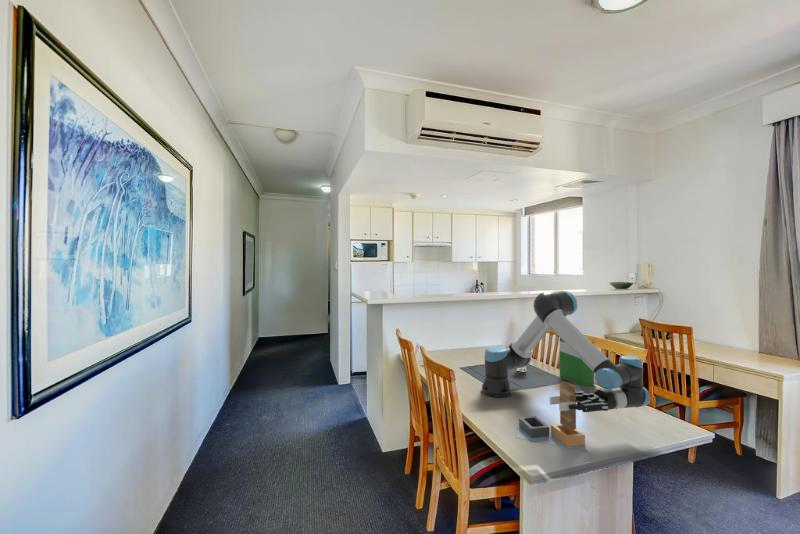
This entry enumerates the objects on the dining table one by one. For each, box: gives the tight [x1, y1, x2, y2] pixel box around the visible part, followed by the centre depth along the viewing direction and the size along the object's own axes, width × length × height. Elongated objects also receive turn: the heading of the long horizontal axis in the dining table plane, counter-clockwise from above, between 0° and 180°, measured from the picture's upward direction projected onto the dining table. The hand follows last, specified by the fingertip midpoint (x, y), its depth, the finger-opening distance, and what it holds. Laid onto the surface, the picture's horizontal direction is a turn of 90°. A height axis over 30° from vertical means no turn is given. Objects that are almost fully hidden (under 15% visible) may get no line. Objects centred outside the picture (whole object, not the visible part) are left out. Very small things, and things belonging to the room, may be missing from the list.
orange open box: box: [550, 423, 586, 446], centre depth 127 cm, size 7×9×4 cm
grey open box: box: [518, 415, 550, 438], centre depth 133 cm, size 7×9×4 cm
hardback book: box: [559, 337, 595, 387], centre depth 192 cm, size 18×7×24 cm, turn 15°
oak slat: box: [559, 381, 577, 430], centre depth 126 cm, size 3×5×16 cm, turn 9°
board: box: [515, 423, 588, 452], centre depth 130 cm, size 24×14×1 cm, turn 66°
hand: (555, 403), depth 126 cm, fingers closed on oak slat, 5 cm apart
